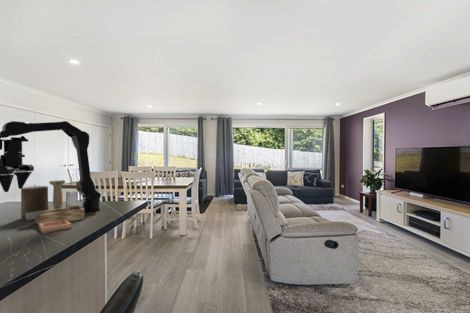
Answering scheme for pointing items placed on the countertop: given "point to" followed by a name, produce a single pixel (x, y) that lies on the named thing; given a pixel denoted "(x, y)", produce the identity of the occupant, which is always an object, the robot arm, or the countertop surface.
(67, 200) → the grey tall cylinder
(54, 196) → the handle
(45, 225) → the rack tray
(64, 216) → the socket block
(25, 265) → the countertop surface
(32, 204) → the pillar candle
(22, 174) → the robot arm
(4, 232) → the countertop surface
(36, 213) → the grey rectangular metal block
